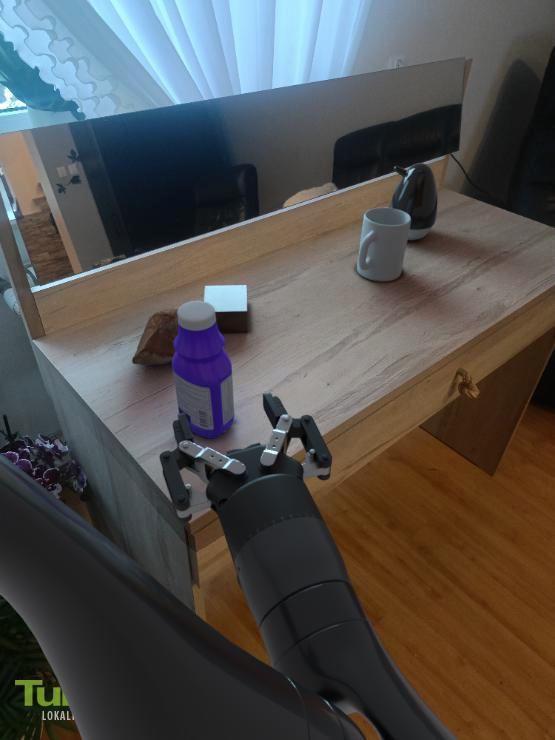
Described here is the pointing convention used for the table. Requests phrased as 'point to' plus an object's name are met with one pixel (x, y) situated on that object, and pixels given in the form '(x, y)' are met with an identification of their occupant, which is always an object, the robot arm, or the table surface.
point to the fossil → (158, 339)
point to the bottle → (202, 371)
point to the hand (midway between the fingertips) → (224, 409)
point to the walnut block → (229, 306)
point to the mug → (383, 243)
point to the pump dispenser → (417, 198)
